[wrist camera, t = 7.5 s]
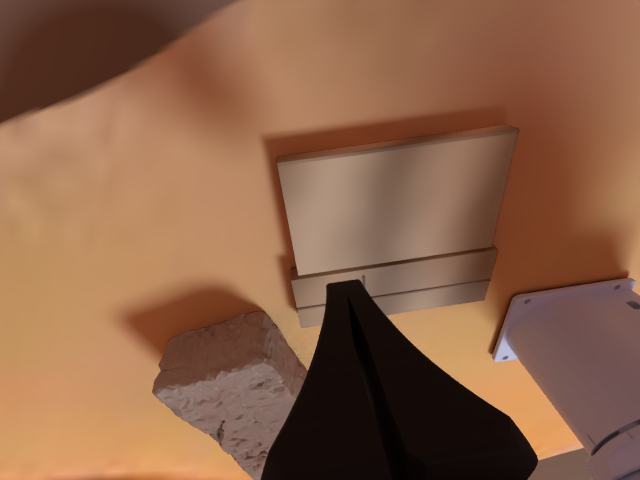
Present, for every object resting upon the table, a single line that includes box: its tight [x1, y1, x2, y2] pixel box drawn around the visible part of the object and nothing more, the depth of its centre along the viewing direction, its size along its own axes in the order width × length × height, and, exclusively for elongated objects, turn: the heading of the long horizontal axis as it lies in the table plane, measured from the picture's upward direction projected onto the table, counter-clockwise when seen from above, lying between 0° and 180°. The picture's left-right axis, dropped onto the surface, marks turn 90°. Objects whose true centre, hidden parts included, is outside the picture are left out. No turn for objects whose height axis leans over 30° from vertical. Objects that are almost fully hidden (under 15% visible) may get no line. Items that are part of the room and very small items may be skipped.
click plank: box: [277, 125, 519, 276], centre depth 17 cm, size 12×7×1 cm, turn 96°
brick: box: [152, 311, 308, 480], centre depth 24 cm, size 17×8×5 cm, turn 20°
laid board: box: [291, 244, 498, 328], centre depth 20 cm, size 13×4×1 cm, turn 96°
